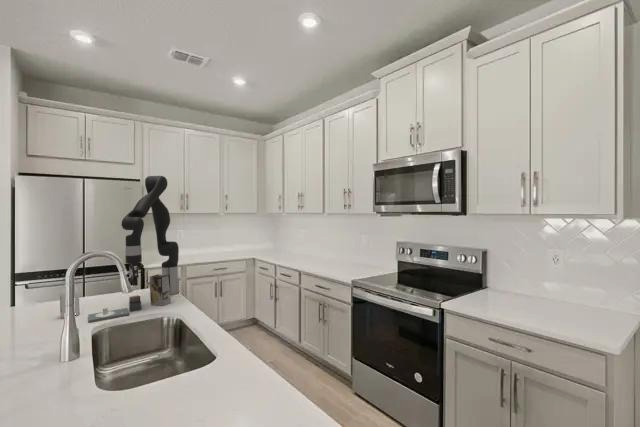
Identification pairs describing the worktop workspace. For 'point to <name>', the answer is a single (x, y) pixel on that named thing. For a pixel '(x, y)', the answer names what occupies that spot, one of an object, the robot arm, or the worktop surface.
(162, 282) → the coffee box
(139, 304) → the knob
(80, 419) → the worktop surface
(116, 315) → the control panel
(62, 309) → the milk bottle
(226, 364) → the worktop surface
